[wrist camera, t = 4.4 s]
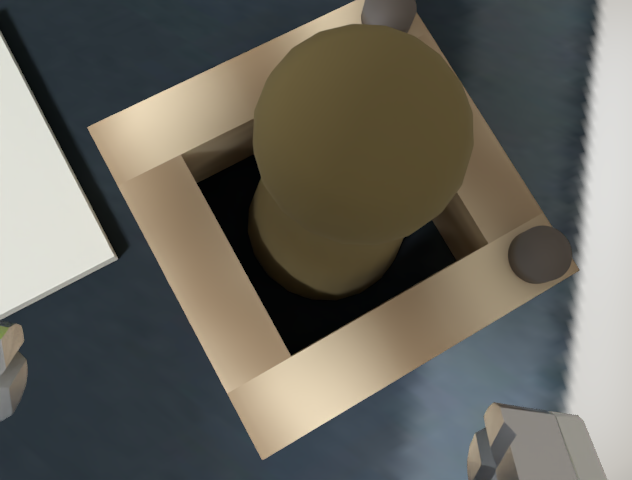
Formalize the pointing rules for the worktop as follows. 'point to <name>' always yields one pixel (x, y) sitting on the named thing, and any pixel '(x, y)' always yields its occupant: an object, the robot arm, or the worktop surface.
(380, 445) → the worktop surface
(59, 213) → the white mat
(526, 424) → the robot arm
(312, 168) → the brown pawn
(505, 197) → the sleeve block
